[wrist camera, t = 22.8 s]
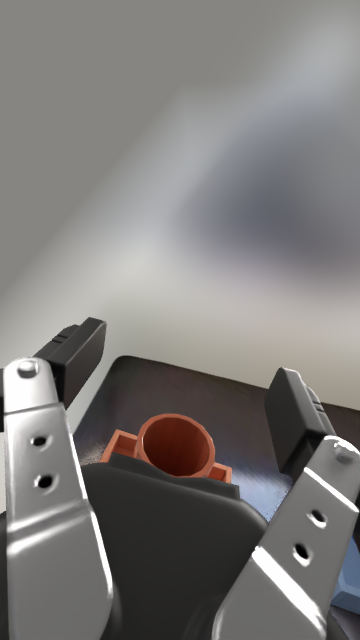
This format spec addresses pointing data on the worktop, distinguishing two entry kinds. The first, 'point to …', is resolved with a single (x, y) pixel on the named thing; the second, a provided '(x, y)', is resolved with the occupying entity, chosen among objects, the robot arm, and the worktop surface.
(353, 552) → the blue tray
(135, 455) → the terracotta cup
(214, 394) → the worktop surface
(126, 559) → the robot arm
